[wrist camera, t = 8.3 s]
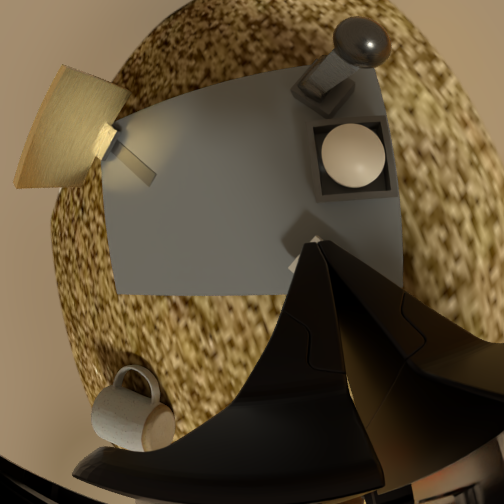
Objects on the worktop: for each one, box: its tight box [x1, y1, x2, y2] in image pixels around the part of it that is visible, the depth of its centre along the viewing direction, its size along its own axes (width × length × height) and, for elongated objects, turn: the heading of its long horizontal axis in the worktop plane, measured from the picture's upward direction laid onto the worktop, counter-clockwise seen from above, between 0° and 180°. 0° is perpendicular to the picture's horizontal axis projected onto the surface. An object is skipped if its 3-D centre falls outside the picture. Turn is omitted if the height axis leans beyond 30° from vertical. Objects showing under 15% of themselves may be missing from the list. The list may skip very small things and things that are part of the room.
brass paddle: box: [13, 64, 132, 189], centre depth 18 cm, size 3×10×8 cm, turn 142°
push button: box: [321, 124, 385, 188], centre depth 15 cm, size 4×4×2 cm
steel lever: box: [297, 16, 391, 103], centre depth 10 cm, size 2×3×9 cm
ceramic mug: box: [91, 365, 175, 452], centre depth 26 cm, size 11×8×8 cm
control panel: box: [101, 59, 403, 296], centre depth 20 cm, size 16×24×4 cm, turn 97°
